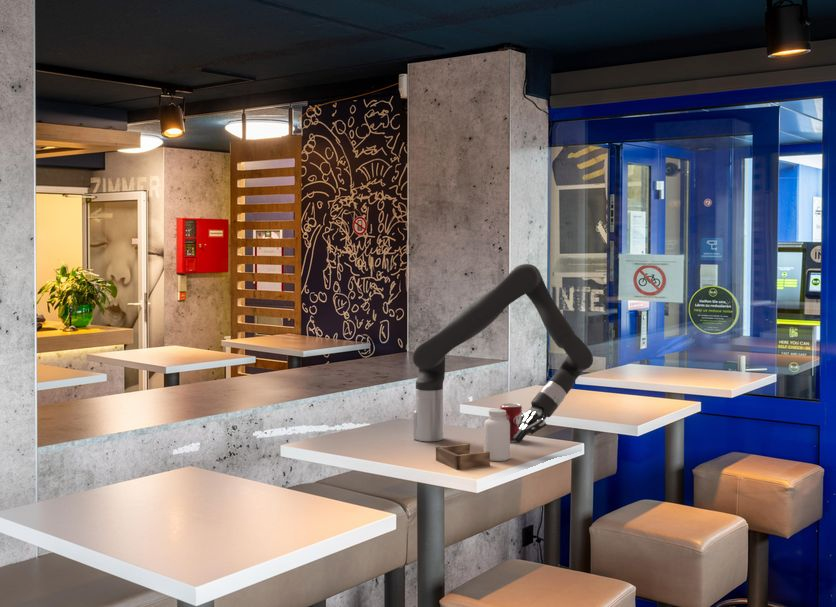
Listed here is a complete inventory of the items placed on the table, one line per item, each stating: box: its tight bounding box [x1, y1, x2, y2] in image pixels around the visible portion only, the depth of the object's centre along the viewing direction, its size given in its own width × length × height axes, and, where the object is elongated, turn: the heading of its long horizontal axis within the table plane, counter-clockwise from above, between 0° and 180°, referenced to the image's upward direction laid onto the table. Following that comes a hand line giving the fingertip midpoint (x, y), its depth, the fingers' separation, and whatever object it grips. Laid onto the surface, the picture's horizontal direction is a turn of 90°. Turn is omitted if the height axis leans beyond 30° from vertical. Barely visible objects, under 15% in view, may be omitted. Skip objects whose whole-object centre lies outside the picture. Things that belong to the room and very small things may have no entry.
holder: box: [435, 443, 491, 471], centre depth 275 cm, size 11×13×4 cm
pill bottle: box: [483, 408, 511, 462], centre depth 280 cm, size 8×8×15 cm
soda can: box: [499, 403, 523, 443], centre depth 306 cm, size 7×7×12 cm
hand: (515, 440), depth 283 cm, fingers closed
